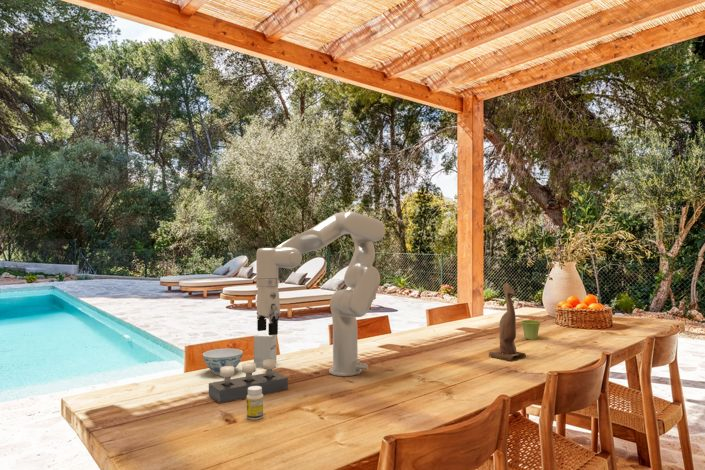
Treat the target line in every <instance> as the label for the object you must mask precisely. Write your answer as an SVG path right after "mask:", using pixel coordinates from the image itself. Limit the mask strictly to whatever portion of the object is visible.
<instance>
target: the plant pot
mask: <svg viewBox="0 0 705 470" xmlns="http://www.w3.org/2000/svg"><path fill="white" fill-rule="evenodd" d="M520 323H521V325H522V329H523V334H524V335H523V337H524V339H525V340H527V339H528V340H530V341H531V340H532V341H533V340H534V341H535V340H538V335H539V329H540V326H541V321H538V320H533V319H528V320H527V319H525V320H524V319H523V320H521V321H520Z"/></svg>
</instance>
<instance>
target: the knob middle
mask: <svg viewBox="0 0 705 470" xmlns="http://www.w3.org/2000/svg"><path fill="white" fill-rule="evenodd" d="M241 367H242V368H241V370H242V371H241V373H243V374H245V377H246V382H251V381H252V375H253V373H255V372H257V369H256V368H257V367H256V364H255V363H254V362H245V363H242V364H241Z"/></svg>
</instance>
